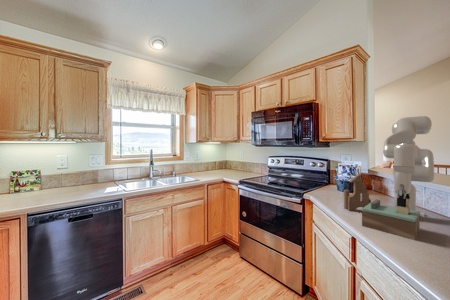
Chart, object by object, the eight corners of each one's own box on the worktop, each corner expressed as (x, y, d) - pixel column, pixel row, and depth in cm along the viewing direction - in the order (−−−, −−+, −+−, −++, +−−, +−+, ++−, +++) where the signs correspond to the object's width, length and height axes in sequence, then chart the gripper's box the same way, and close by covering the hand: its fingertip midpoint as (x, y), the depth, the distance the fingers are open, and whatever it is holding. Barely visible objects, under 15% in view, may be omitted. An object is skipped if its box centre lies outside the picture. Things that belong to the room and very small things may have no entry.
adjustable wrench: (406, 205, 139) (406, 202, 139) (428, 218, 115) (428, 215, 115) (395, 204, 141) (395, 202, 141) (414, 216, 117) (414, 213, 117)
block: (398, 228, 98) (398, 197, 97) (409, 231, 95) (409, 199, 94) (396, 230, 95) (397, 199, 95) (407, 233, 92) (408, 200, 92)
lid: (370, 204, 112) (371, 197, 111) (419, 213, 96) (419, 205, 96) (362, 210, 101) (362, 202, 101) (415, 222, 86) (415, 213, 86)
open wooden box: (370, 220, 112) (370, 205, 112) (419, 232, 96) (419, 214, 96) (361, 228, 102) (362, 211, 101) (414, 242, 86) (415, 223, 86)
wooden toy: (369, 209, 130) (369, 172, 129) (373, 213, 123) (374, 174, 123) (343, 207, 134) (343, 172, 134) (346, 210, 128) (346, 173, 127)
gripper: (397, 167, 103) (396, 199, 103) (389, 170, 92) (389, 206, 92) (417, 169, 97) (416, 203, 97) (411, 172, 86) (411, 210, 86)
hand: (403, 204), depth 94 cm, fingers open, 9 cm apart
